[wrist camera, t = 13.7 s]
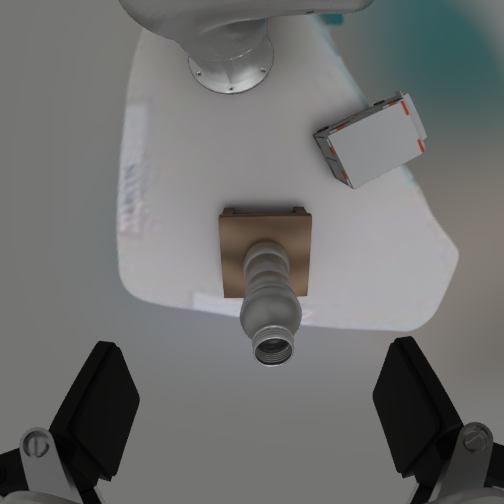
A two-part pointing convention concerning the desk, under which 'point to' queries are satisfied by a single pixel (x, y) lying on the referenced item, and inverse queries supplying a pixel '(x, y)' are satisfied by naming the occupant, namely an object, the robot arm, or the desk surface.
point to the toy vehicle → (373, 141)
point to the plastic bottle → (269, 304)
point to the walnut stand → (264, 230)
